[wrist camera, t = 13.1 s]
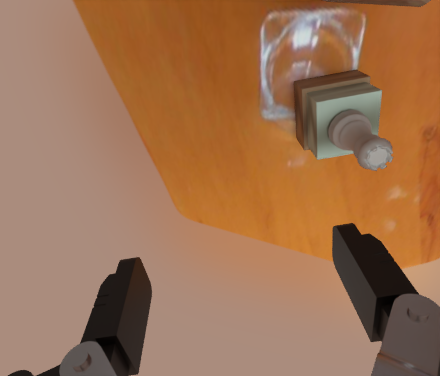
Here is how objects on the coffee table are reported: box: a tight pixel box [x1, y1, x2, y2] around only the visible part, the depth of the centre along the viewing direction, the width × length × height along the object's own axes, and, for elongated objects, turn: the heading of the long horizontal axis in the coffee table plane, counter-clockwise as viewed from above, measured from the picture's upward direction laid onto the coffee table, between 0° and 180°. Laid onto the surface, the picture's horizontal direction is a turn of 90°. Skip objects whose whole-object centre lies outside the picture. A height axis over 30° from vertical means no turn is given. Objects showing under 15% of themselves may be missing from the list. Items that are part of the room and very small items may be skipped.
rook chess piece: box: [328, 110, 393, 171], centre depth 33 cm, size 4×4×8 cm
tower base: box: [294, 70, 382, 160], centre depth 40 cm, size 8×8×8 cm
